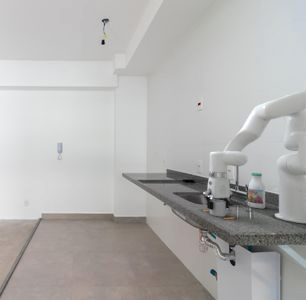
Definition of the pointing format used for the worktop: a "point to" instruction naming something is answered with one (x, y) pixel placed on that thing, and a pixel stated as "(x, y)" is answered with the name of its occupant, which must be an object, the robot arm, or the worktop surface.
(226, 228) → the worktop surface
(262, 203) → the milk bottle
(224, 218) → the tape marks
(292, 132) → the robot arm
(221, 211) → the pot
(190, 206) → the worktop surface
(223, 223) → the worktop surface
